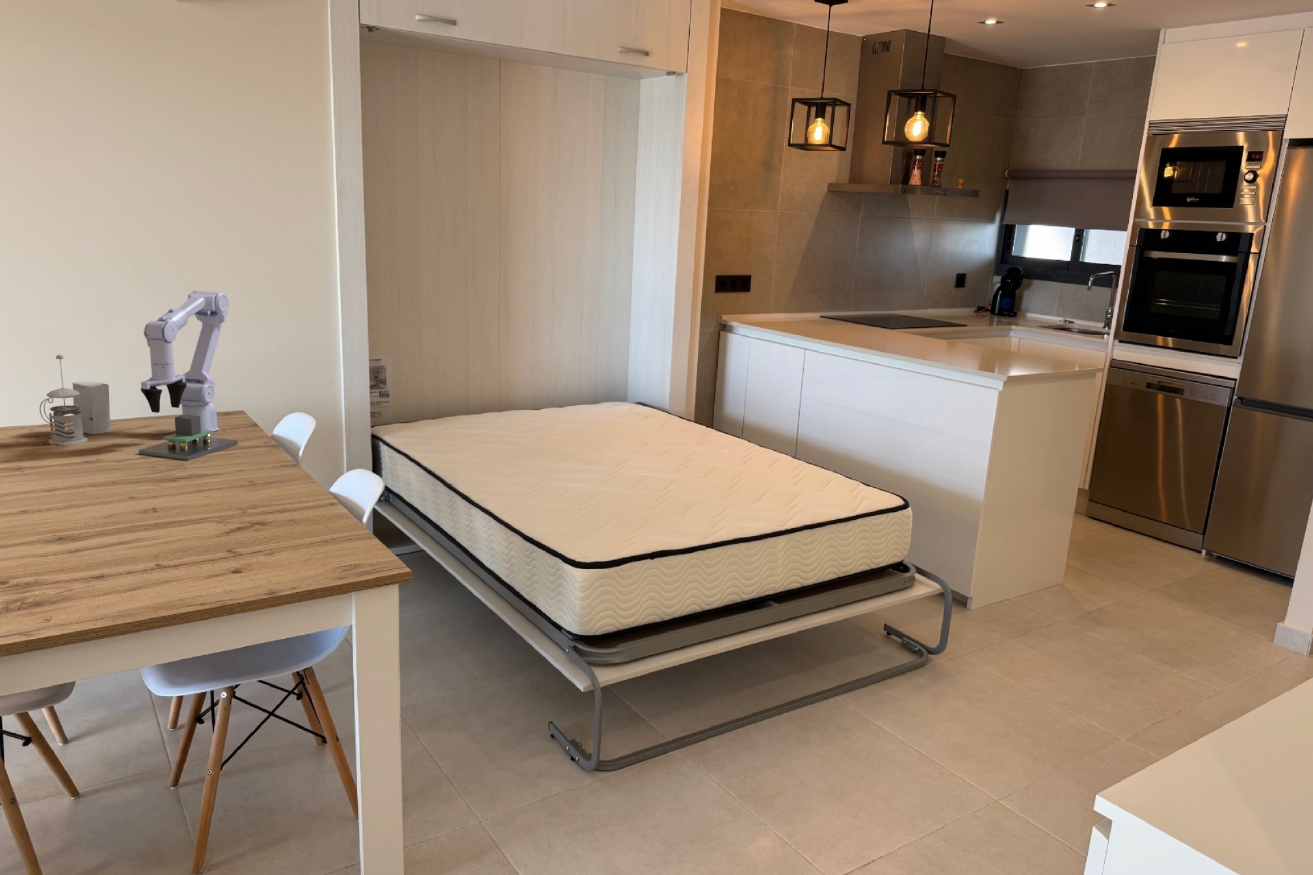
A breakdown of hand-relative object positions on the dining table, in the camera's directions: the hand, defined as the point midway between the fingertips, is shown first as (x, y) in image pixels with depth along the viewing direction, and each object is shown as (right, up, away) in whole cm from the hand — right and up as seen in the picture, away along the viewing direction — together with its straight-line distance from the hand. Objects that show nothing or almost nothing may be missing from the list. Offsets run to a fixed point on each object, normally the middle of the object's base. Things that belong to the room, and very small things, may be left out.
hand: (165, 409), depth 260 cm
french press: (-28, -9, -1) cm, 30 cm away
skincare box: (-27, -6, +10) cm, 30 cm away
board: (+8, -8, -4) cm, 12 cm away
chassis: (+8, -11, -3) cm, 14 cm away
